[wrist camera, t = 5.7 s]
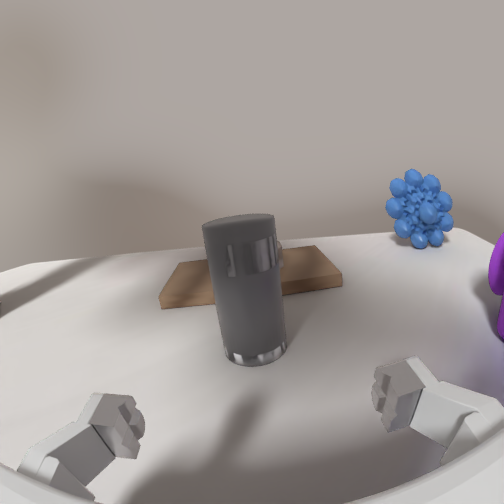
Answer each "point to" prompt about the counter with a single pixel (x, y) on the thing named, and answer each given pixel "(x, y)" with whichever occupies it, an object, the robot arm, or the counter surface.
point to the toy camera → (498, 279)
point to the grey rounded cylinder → (247, 287)
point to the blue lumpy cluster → (420, 209)
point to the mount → (291, 273)
